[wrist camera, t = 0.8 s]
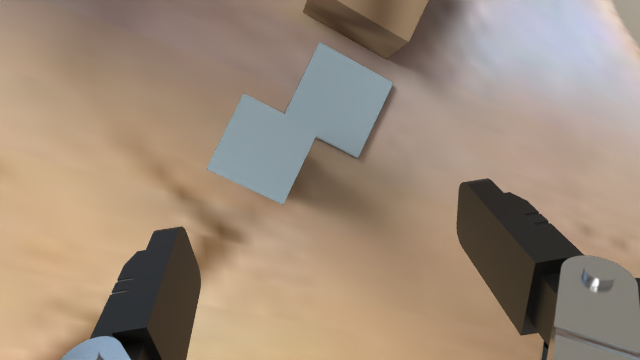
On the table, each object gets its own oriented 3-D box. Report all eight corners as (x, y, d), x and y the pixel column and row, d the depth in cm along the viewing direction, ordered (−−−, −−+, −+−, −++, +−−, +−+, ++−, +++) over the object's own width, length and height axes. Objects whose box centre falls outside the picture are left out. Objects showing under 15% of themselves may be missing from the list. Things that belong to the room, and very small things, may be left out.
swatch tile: (281, 119, 33) (282, 119, 32) (318, 44, 33) (319, 41, 33) (356, 157, 34) (358, 157, 33) (390, 84, 34) (393, 82, 34)
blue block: (219, 168, 32) (206, 169, 21) (243, 118, 32) (243, 93, 21) (270, 192, 33) (283, 205, 22) (294, 143, 33) (318, 131, 22)
